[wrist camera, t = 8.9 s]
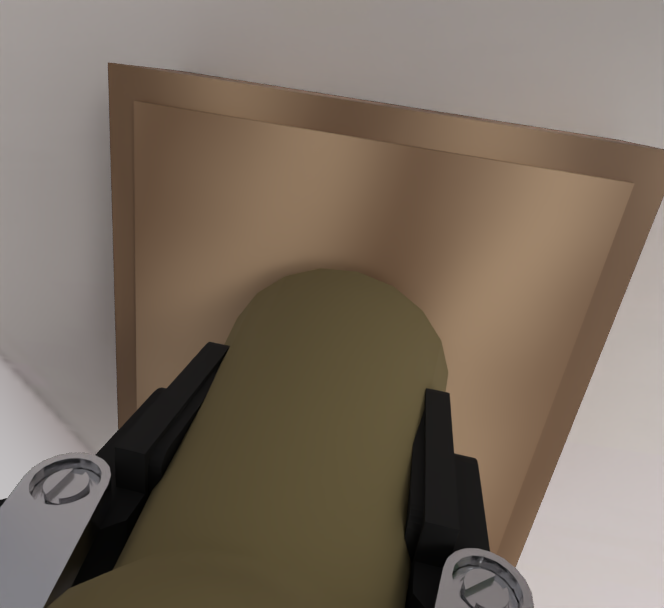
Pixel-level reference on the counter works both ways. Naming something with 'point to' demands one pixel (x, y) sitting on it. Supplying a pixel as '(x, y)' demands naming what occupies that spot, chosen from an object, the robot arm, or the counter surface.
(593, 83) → the counter surface
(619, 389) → the counter surface
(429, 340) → the olive tapered piece
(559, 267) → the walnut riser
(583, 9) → the counter surface
